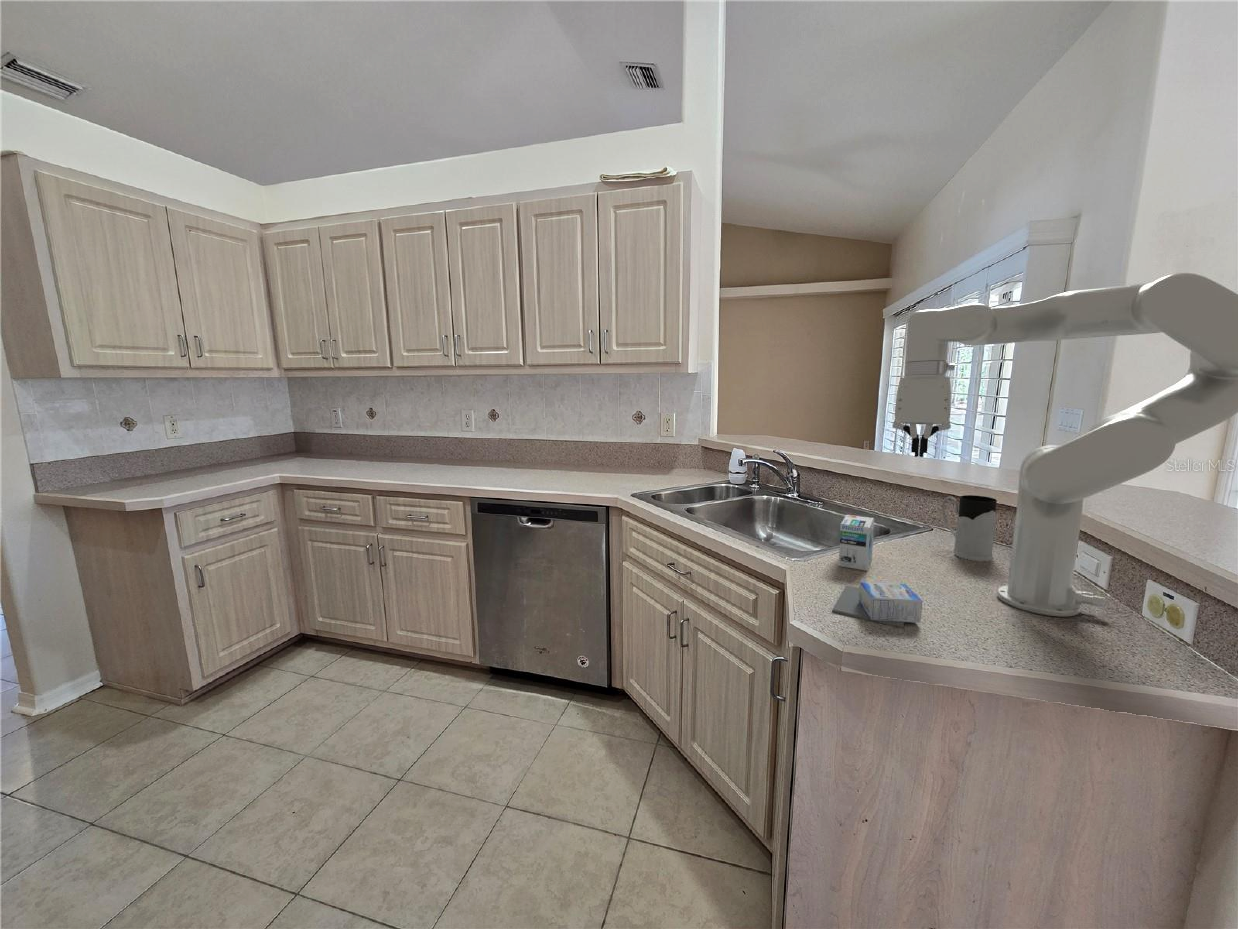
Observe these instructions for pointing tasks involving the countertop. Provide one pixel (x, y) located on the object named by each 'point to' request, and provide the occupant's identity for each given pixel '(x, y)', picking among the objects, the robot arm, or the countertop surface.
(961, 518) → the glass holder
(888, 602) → the medicine box
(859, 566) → the light bulb box
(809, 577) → the countertop surface
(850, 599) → the mat
